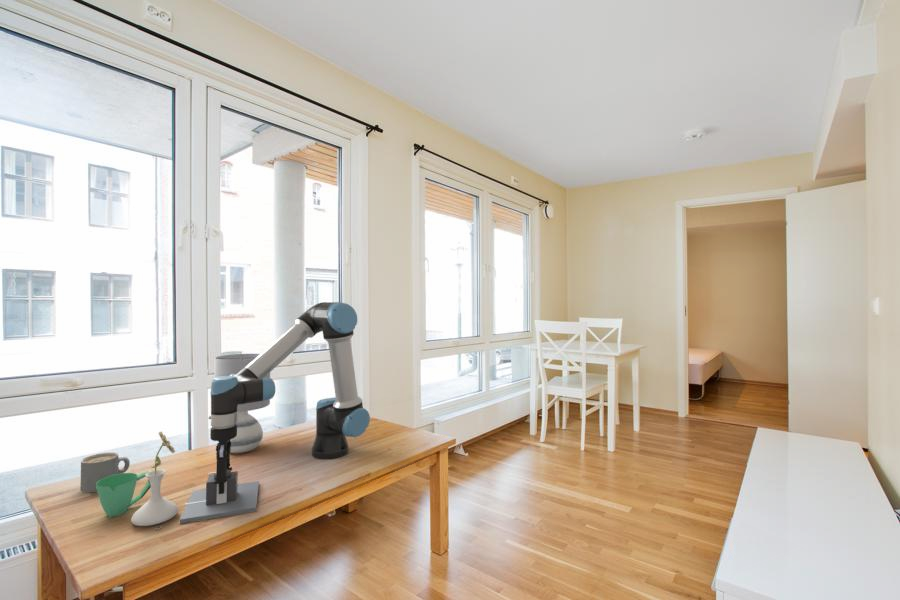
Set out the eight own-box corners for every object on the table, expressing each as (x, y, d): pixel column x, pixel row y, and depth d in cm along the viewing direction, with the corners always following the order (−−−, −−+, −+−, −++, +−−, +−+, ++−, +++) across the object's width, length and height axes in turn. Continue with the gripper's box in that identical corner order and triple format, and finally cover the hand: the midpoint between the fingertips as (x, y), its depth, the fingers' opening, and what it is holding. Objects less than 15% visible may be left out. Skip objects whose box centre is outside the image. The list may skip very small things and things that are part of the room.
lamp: (233, 463, 166) (234, 361, 166) (202, 452, 176) (203, 357, 176) (279, 447, 184) (280, 355, 184) (249, 438, 195) (250, 352, 195)
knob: (237, 492, 138) (237, 466, 138) (235, 500, 132) (236, 473, 132) (208, 496, 135) (209, 469, 135) (205, 505, 129) (206, 477, 129)
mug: (104, 524, 120) (105, 489, 120) (89, 515, 125) (90, 481, 125) (160, 503, 132) (161, 471, 133) (144, 495, 137) (145, 465, 137)
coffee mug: (82, 495, 137) (82, 465, 137) (78, 486, 144) (79, 457, 144) (132, 483, 147) (133, 454, 147) (127, 475, 153) (127, 447, 153)
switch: (258, 484, 146) (258, 468, 146) (256, 511, 128) (256, 492, 128) (190, 494, 139) (191, 477, 139) (177, 524, 120) (177, 504, 120)
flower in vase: (170, 527, 118) (171, 439, 119) (123, 533, 115) (124, 442, 115) (185, 505, 131) (186, 426, 131) (143, 510, 128) (144, 428, 128)
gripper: (214, 418, 141) (214, 486, 141) (205, 436, 123) (204, 514, 123) (239, 416, 144) (238, 482, 144) (234, 433, 126) (233, 509, 126)
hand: (223, 497), depth 133 cm, fingers open, 7 cm apart
